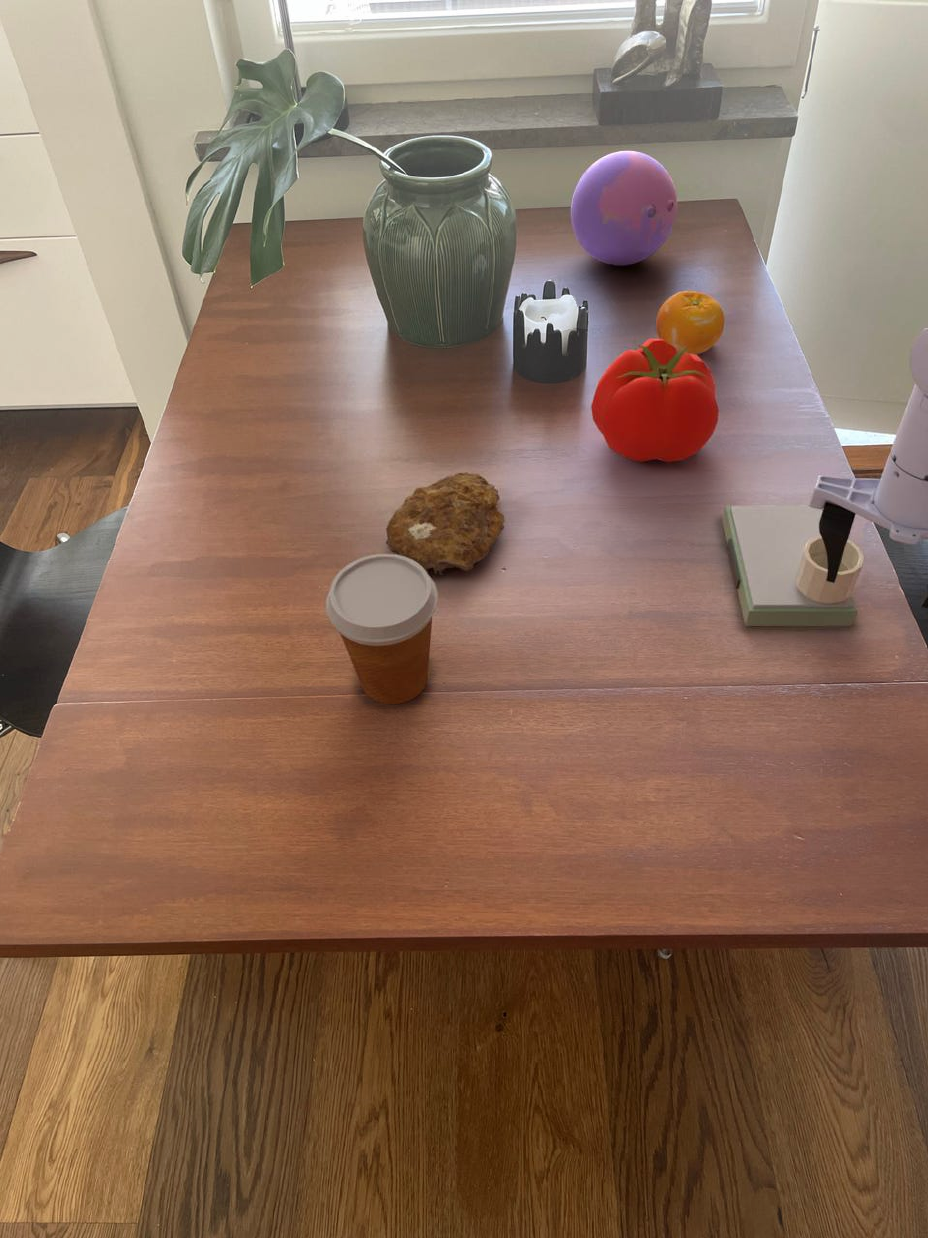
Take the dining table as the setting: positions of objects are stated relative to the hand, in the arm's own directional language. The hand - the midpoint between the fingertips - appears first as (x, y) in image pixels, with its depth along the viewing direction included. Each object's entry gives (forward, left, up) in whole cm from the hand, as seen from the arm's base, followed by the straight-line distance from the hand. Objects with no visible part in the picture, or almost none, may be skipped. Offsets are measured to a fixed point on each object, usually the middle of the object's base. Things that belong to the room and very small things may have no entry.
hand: (879, 587), depth 78 cm
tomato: (+26, -25, -10) cm, 37 cm away
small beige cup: (+4, -6, -7) cm, 10 cm away
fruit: (+27, -47, -10) cm, 55 cm away
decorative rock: (+42, -3, -10) cm, 43 cm away
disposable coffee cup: (+39, +17, -10) cm, 43 cm away
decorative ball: (+42, -67, -10) cm, 80 cm away
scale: (+8, -10, -10) cm, 16 cm away
